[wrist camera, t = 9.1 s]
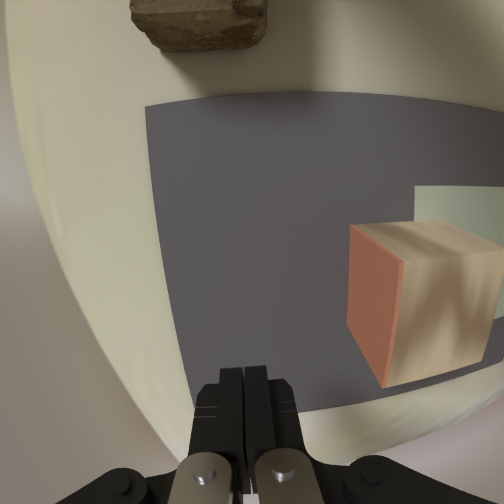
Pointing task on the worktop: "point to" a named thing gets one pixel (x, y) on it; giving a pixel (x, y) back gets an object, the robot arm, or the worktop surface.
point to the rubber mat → (306, 223)
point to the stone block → (200, 23)
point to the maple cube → (421, 297)
